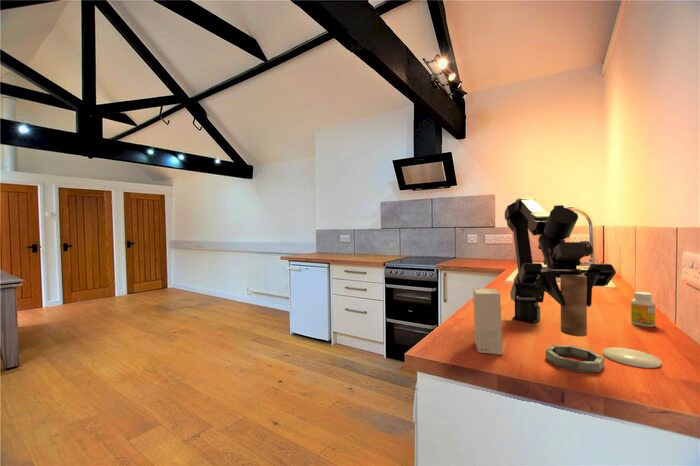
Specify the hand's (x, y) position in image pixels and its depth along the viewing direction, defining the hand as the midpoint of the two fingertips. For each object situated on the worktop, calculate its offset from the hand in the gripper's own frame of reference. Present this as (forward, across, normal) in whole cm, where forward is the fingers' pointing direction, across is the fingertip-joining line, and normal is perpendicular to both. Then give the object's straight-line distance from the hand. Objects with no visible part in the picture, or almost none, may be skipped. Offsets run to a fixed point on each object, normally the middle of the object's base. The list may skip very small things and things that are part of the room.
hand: (576, 305), depth 69 cm
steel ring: (+8, 0, +10) cm, 13 cm away
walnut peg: (+4, 0, +6) cm, 7 cm away
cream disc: (+5, +14, +14) cm, 20 cm away
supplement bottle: (-16, +33, +35) cm, 50 cm away
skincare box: (+5, -17, +14) cm, 23 cm away
